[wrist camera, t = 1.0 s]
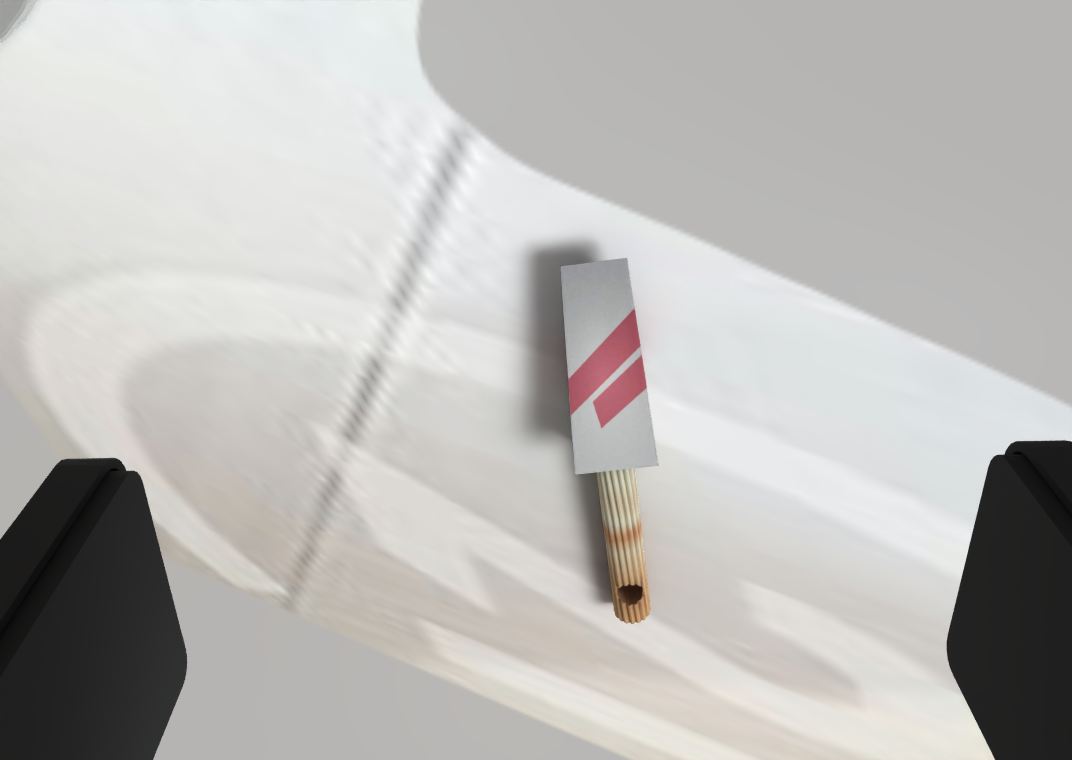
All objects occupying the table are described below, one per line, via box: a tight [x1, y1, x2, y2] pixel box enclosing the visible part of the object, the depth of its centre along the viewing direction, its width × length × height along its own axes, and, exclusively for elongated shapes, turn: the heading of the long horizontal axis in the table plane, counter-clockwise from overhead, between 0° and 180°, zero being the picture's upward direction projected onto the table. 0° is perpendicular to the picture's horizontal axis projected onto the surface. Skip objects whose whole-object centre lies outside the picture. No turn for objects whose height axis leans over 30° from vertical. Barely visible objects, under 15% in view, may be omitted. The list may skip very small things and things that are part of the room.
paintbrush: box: [560, 258, 659, 624], centre depth 46 cm, size 4×3×20 cm
